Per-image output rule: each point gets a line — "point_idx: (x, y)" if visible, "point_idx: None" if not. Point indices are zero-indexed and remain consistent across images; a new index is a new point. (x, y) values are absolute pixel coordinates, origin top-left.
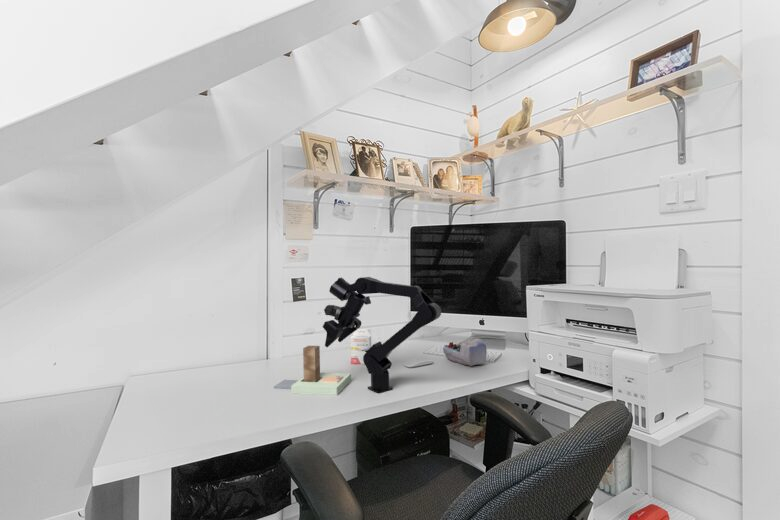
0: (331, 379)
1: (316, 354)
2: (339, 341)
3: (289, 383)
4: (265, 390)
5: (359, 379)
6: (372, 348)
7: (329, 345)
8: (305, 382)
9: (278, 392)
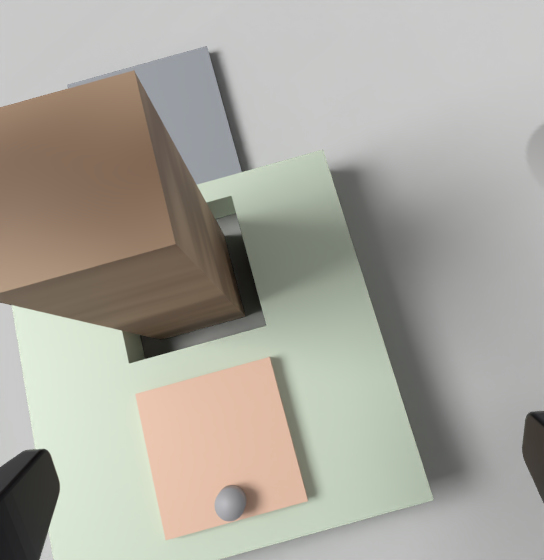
0: (186, 461)
1: (88, 298)
2: (527, 448)
3: None
4: (25, 74)
5: (476, 538)
6: None
7: (29, 556)
8: None
9: None
